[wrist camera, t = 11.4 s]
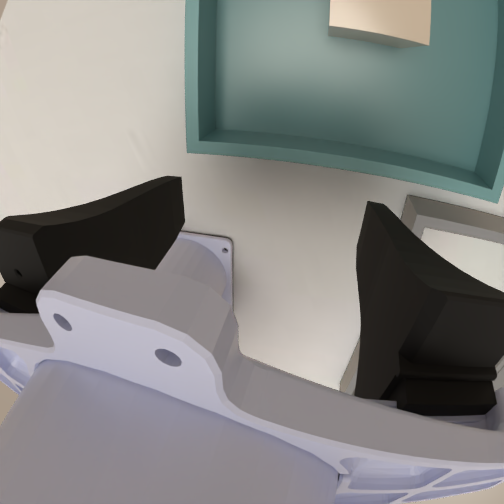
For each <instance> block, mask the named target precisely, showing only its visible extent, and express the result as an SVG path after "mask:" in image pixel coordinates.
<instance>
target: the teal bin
mask: <svg viewBox="0 0 504 504" xmlns="http://www.w3.org/2000/svg"><path fill="white" fill-rule="evenodd" d="M328 25H329V0H186V4H185V113H186V142H187V153H197V154H213V155H226V156H238V157H249V158H259V159H268V160H277V161H286V162H294V163H302V164H309V165H316V166H323V167H330V168H336V169H343V170H349V171H355V172H361V173H366V174H372V175H378V176H383V177H388V178H393V179H398V180H403V181H408V182H413V183H417V184H422V185H426V186H431V187H435V188H439V189H444V190H448V191H452V192H456V193H460V194H464V195H468V196H472V197H475V198H479V199H483V200H486V201H490V202H493V203H497V204H498V201H499V198H500V195H501V192H502V189H503V186H504V0H431V24H430V41H429V46H418V47H408V48H396V47H392V46H387V45H382V44H377V43H372V42H366V41H360V40H354V39H348V38H341V37H333V36H328Z"/></svg>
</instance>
